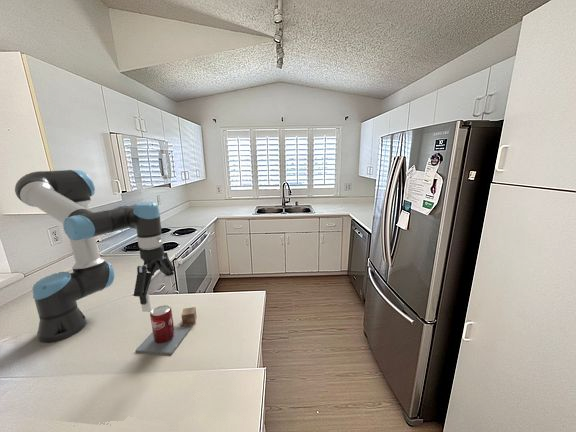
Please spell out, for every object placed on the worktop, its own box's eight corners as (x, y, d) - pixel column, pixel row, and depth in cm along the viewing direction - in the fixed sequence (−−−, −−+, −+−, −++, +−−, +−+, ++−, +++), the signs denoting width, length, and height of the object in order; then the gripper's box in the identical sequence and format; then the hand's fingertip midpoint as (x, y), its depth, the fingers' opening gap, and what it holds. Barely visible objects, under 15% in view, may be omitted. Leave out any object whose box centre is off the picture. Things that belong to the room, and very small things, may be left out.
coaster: (135, 352, 92) (135, 350, 91) (158, 327, 105) (158, 325, 105) (171, 354, 90) (171, 352, 90) (190, 329, 104) (190, 327, 103)
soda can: (169, 329, 102) (165, 302, 100) (178, 336, 98) (174, 309, 95) (150, 339, 97) (146, 311, 94) (159, 347, 92) (155, 318, 90)
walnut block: (182, 325, 106) (181, 315, 105) (184, 318, 111) (183, 308, 109) (195, 323, 107) (194, 313, 106) (196, 317, 112) (195, 306, 111)
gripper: (136, 260, 77) (146, 322, 81) (179, 236, 101) (185, 284, 106) (114, 259, 78) (124, 320, 82) (162, 235, 102) (168, 283, 106)
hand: (158, 300), depth 94 cm, fingers open, 13 cm apart
